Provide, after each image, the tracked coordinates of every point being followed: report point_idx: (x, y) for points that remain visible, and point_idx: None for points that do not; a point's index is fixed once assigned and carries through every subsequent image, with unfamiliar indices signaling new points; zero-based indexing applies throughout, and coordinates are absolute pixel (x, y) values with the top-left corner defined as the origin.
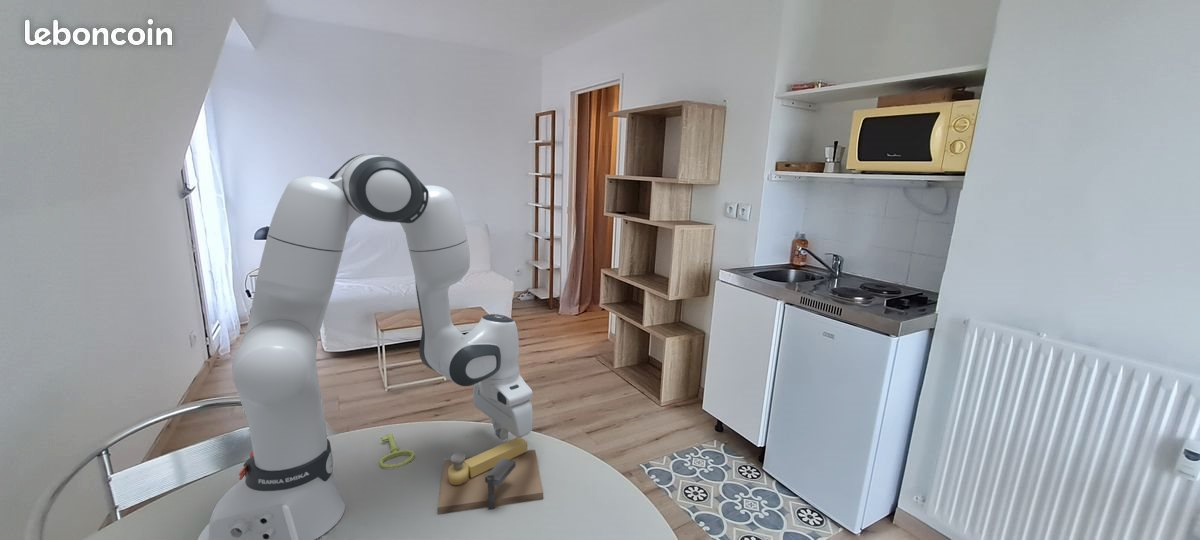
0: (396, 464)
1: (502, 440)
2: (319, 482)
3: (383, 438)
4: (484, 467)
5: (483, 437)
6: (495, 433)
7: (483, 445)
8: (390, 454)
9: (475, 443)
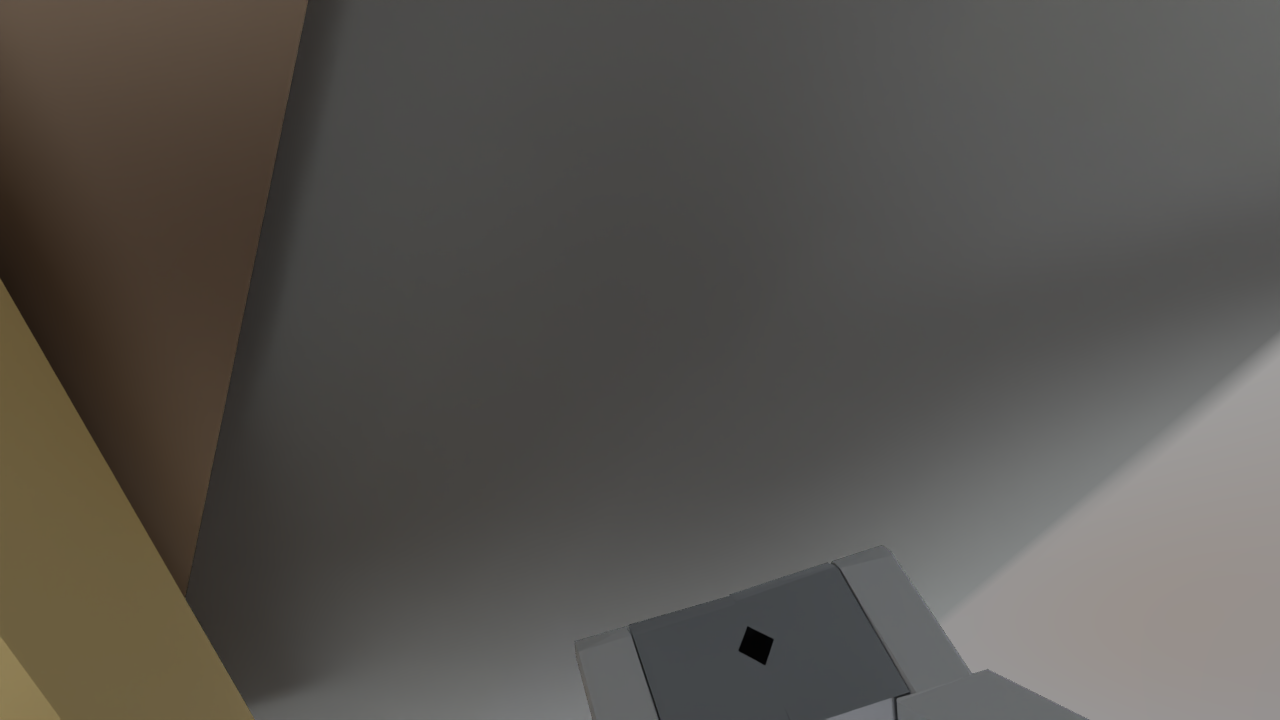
0: None
1: (575, 647)
2: None
3: None
4: None
5: (1198, 233)
6: (885, 595)
7: (954, 161)
8: None
9: (1139, 18)
